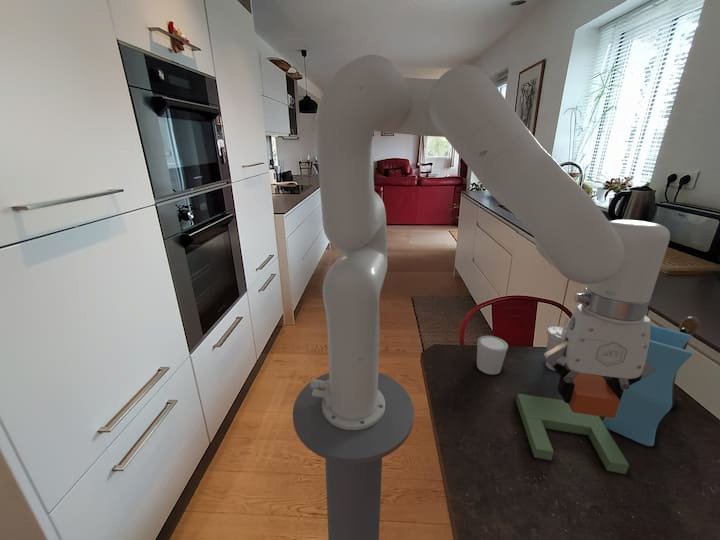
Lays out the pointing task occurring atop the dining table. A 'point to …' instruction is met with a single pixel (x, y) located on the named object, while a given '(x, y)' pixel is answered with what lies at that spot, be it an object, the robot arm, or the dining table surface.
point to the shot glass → (490, 354)
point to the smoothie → (556, 340)
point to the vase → (651, 388)
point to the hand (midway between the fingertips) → (586, 399)
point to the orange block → (593, 397)
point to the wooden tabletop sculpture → (687, 327)
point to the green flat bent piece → (566, 429)
